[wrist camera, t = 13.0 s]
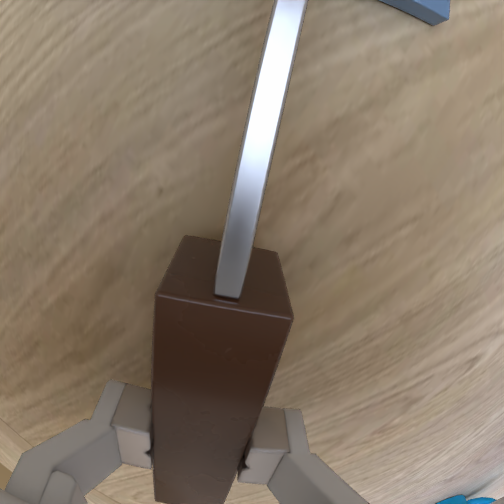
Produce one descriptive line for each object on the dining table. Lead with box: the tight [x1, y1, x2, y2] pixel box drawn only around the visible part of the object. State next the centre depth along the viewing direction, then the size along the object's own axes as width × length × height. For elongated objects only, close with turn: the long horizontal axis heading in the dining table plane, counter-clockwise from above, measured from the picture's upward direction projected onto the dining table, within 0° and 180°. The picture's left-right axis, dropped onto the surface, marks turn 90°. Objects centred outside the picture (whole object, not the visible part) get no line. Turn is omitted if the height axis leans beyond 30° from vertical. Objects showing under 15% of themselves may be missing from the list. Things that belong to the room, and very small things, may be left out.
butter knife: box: [151, 0, 308, 504], centre depth 6 cm, size 2×20×3 cm, turn 168°
